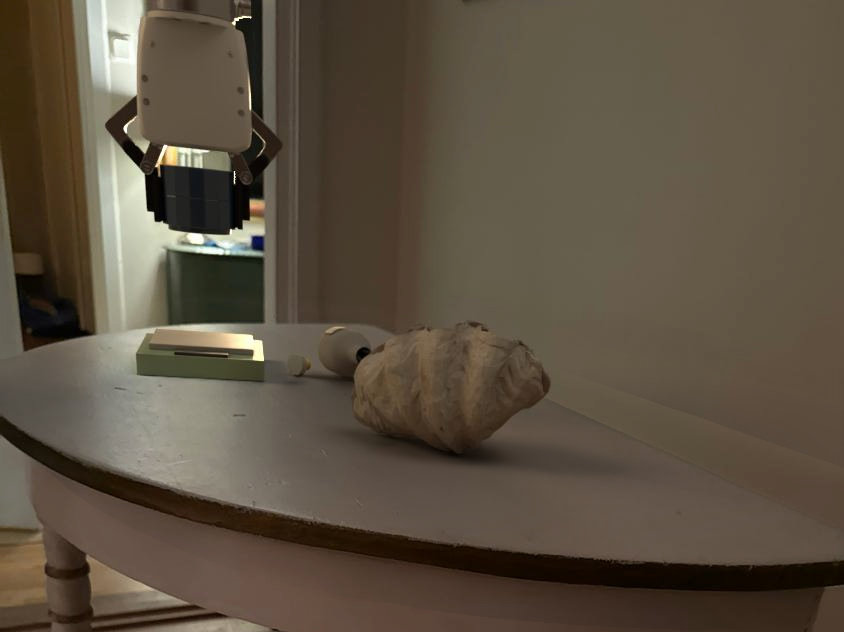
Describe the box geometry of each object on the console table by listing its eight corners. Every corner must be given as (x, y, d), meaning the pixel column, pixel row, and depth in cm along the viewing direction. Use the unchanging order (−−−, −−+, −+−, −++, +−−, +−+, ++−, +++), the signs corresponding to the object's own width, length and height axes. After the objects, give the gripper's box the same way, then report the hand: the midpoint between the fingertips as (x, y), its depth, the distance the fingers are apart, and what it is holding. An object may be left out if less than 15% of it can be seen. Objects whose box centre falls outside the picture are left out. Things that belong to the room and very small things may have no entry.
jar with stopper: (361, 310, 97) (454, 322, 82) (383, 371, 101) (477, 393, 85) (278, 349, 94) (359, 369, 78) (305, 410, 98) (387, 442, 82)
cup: (160, 230, 85) (157, 164, 83) (166, 226, 91) (162, 163, 89) (235, 237, 87) (234, 172, 85) (236, 232, 93) (234, 171, 90)
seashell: (469, 478, 67) (482, 339, 63) (337, 431, 76) (341, 306, 71) (551, 459, 75) (569, 333, 70) (423, 418, 83) (431, 304, 79)
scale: (137, 374, 88) (135, 346, 87) (147, 352, 98) (146, 327, 97) (264, 381, 91) (264, 354, 90) (261, 359, 101) (261, 334, 100)
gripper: (288, 26, 86) (288, 230, 94) (92, -2, 82) (109, 214, 90) (292, 15, 80) (291, 235, 88) (80, -16, 76) (99, 218, 84)
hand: (199, 223), depth 89 cm, fingers closed on cup, 6 cm apart
